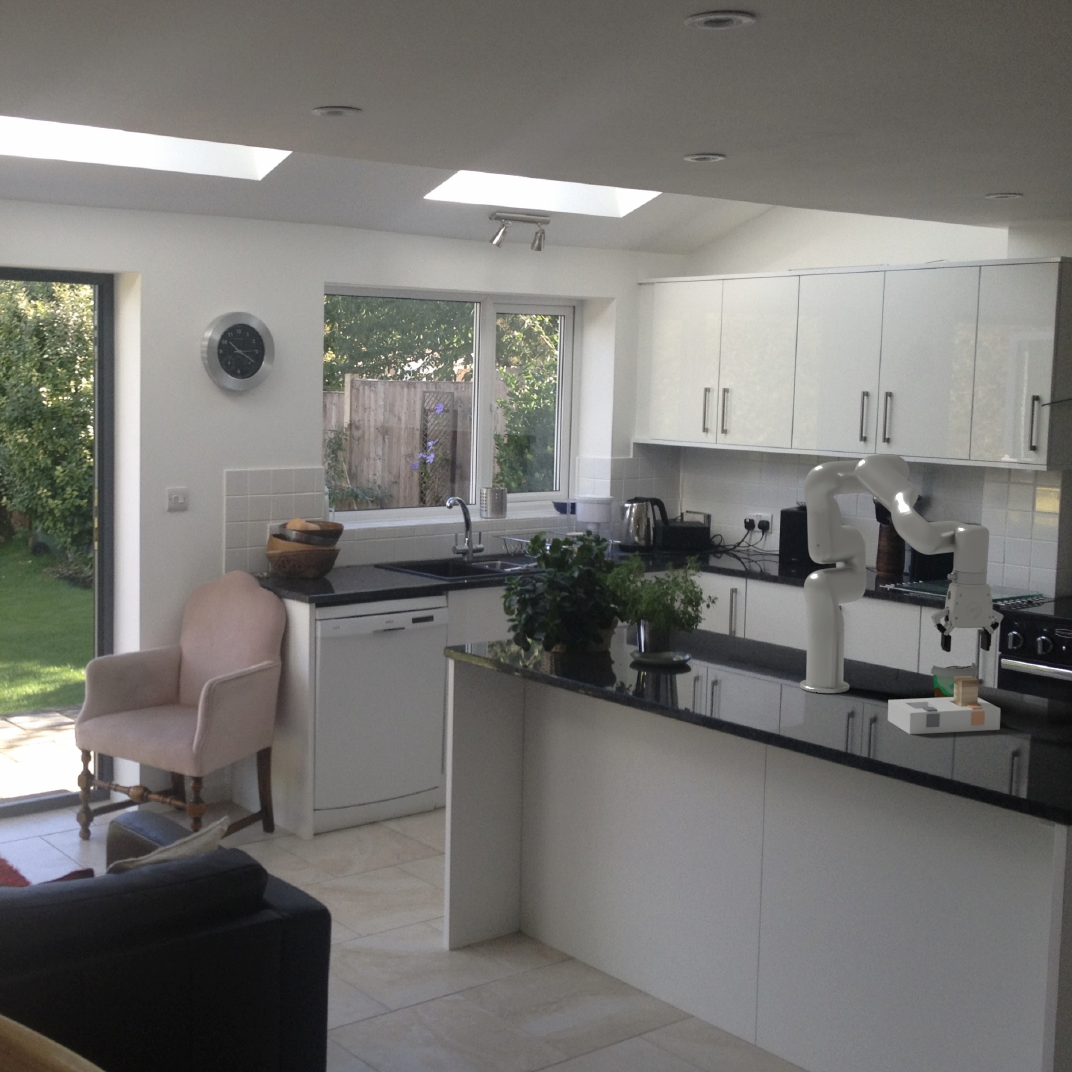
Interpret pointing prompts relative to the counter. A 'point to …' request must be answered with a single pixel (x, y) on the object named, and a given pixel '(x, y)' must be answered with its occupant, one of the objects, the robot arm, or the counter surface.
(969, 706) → the socket block
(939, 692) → the food container
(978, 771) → the counter surface
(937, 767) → the counter surface
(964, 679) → the plug
